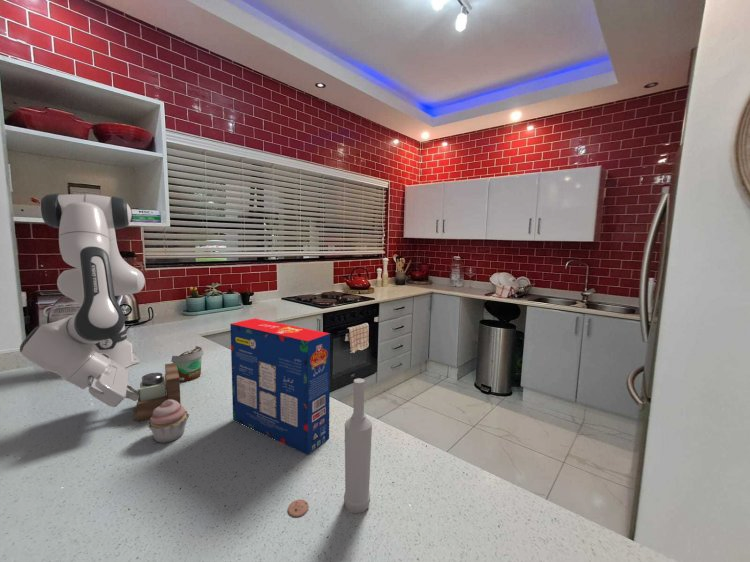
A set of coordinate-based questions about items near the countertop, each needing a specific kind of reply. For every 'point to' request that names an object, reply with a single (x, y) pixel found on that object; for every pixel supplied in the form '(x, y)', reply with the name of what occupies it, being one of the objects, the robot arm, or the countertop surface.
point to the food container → (189, 364)
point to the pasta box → (281, 382)
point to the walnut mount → (172, 392)
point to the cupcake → (168, 421)
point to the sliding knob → (152, 386)
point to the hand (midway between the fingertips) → (138, 397)
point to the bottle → (357, 454)
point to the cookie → (298, 508)
